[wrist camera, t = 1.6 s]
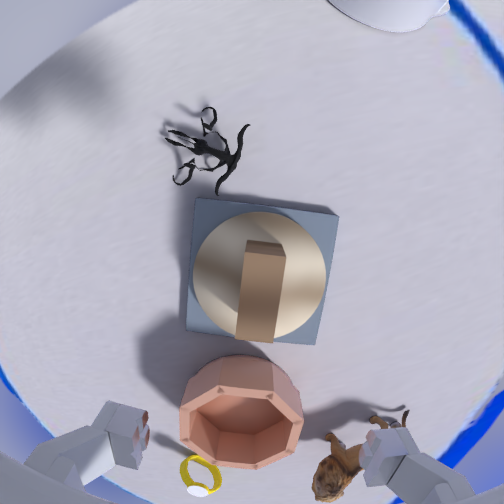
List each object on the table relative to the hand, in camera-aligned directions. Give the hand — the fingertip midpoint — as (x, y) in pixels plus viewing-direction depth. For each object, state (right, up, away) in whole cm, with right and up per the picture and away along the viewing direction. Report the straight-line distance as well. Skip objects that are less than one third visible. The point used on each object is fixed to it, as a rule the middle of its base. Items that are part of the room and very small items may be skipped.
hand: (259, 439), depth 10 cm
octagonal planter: (-1, -10, +24) cm, 26 cm away
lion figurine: (+13, -17, +25) cm, 33 cm away
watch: (-7, -22, +27) cm, 35 cm away
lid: (0, +4, +20) cm, 20 cm away
